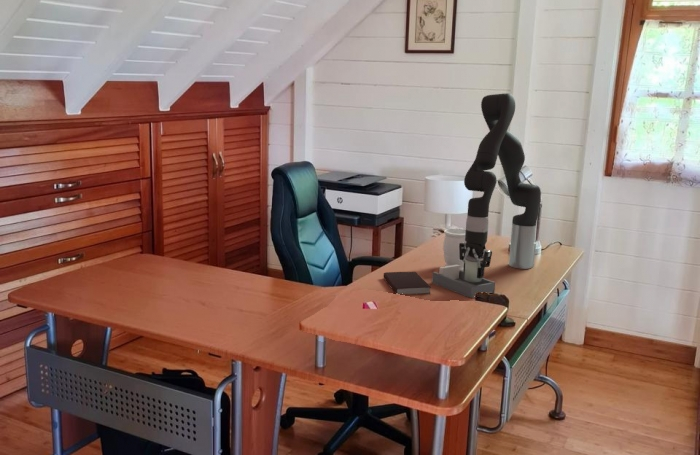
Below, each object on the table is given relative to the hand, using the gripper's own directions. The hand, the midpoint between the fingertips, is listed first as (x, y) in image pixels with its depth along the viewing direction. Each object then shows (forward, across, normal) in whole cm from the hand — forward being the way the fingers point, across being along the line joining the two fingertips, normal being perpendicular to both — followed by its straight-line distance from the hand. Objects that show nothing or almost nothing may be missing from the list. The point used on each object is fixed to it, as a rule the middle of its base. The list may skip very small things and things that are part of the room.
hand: (473, 275), depth 236 cm
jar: (+6, -25, +15) cm, 30 cm away
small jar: (+1, 0, 0) cm, 1 cm away
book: (+7, -17, -16) cm, 24 cm away
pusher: (+5, -12, 0) cm, 13 cm away
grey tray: (+6, -5, 0) cm, 8 cm away
